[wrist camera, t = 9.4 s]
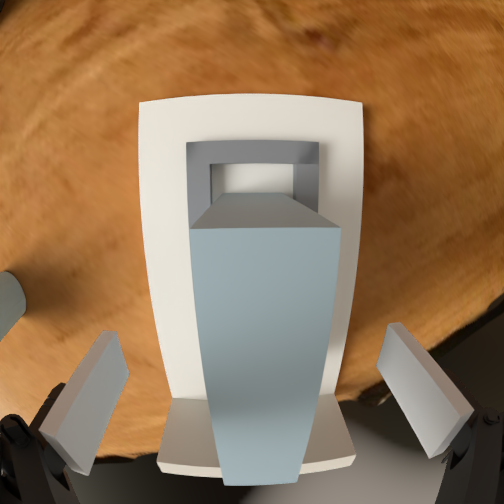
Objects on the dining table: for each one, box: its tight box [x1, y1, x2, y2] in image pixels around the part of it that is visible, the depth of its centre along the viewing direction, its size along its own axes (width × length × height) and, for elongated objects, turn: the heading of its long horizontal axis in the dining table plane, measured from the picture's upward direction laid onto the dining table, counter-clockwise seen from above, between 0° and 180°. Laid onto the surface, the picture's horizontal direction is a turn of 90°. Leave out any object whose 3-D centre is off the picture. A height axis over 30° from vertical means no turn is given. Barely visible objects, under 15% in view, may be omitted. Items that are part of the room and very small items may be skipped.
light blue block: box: [189, 193, 341, 485], centre depth 15 cm, size 14×4×12 cm, turn 0°
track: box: [139, 94, 364, 477], centre depth 17 cm, size 28×16×9 cm, turn 0°
